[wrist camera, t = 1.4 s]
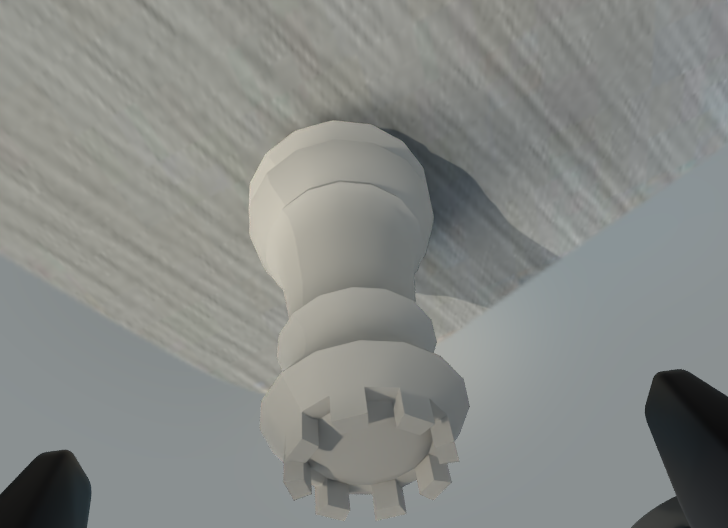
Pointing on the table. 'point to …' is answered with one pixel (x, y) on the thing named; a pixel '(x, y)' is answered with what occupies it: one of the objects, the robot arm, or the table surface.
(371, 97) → the table surface
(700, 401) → the robot arm
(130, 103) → the table surface
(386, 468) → the rook chess piece
